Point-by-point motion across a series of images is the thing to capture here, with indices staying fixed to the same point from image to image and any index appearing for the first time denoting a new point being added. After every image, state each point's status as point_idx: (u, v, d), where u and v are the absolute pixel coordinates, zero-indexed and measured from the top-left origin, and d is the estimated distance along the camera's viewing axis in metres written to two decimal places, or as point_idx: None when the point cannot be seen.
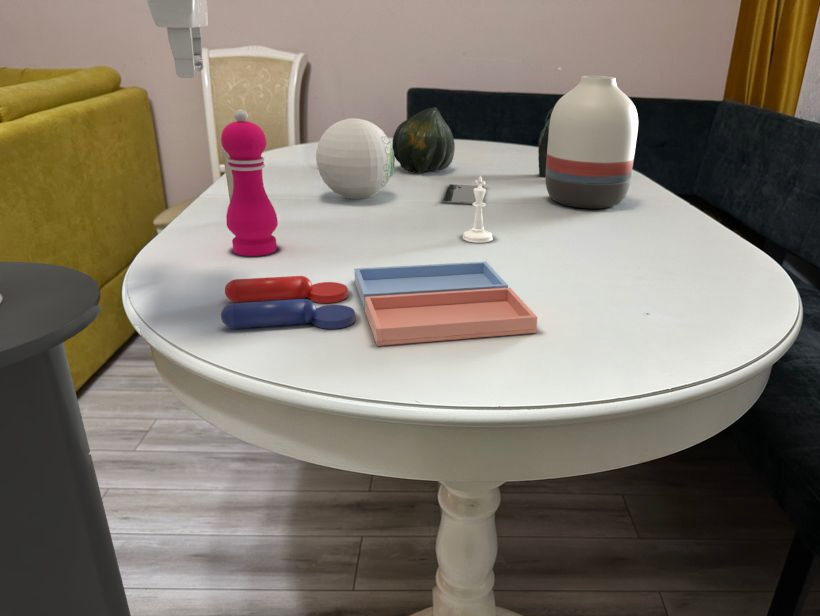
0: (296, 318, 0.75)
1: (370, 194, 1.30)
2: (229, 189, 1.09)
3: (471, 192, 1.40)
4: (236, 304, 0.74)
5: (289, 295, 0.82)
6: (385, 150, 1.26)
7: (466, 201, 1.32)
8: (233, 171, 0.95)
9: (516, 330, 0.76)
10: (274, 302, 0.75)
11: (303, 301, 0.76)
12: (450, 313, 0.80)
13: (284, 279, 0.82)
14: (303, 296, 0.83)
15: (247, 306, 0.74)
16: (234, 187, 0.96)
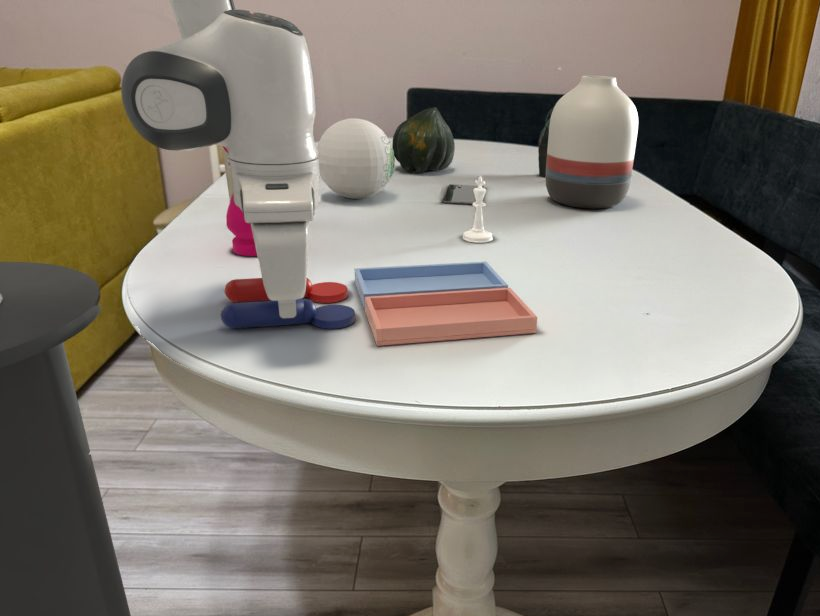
0: (296, 318, 0.75)
1: (370, 194, 1.30)
2: (229, 189, 1.09)
3: (471, 192, 1.40)
4: (236, 304, 0.74)
5: None
6: (385, 150, 1.26)
7: (466, 201, 1.32)
8: None
9: (516, 330, 0.76)
10: (274, 302, 0.75)
11: (303, 301, 0.76)
12: (450, 313, 0.80)
13: None
14: None
15: (247, 306, 0.74)
16: None
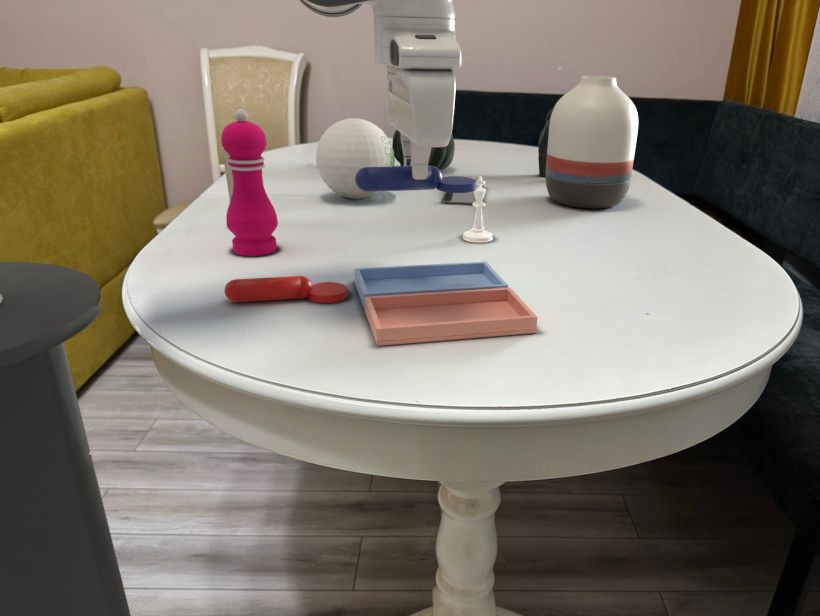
0: (425, 182, 0.80)
1: (370, 194, 1.30)
2: (229, 189, 1.09)
3: (471, 192, 1.40)
4: (370, 167, 0.78)
5: (289, 295, 0.82)
6: (385, 150, 1.26)
7: (466, 201, 1.32)
8: (233, 171, 0.95)
9: (516, 330, 0.76)
10: (404, 167, 0.79)
11: (431, 166, 0.80)
12: (450, 313, 0.80)
13: (284, 279, 0.82)
14: (303, 296, 0.83)
15: (380, 169, 0.78)
16: (234, 187, 0.96)
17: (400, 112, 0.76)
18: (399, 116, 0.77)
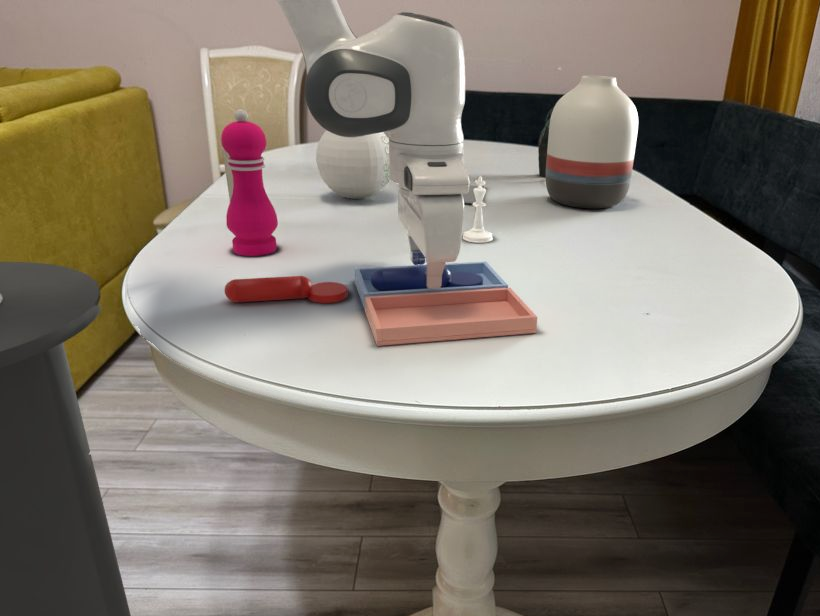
0: None
1: (370, 194, 1.30)
2: (229, 189, 1.09)
3: (471, 192, 1.40)
4: (384, 269, 0.85)
5: (289, 295, 0.82)
6: (385, 150, 1.26)
7: (466, 201, 1.32)
8: (233, 171, 0.95)
9: (516, 330, 0.76)
10: (416, 268, 0.86)
11: None
12: (450, 313, 0.80)
13: (284, 279, 0.82)
14: (303, 296, 0.83)
15: (394, 271, 0.85)
16: (234, 187, 0.96)
17: (412, 221, 0.83)
18: (411, 224, 0.84)
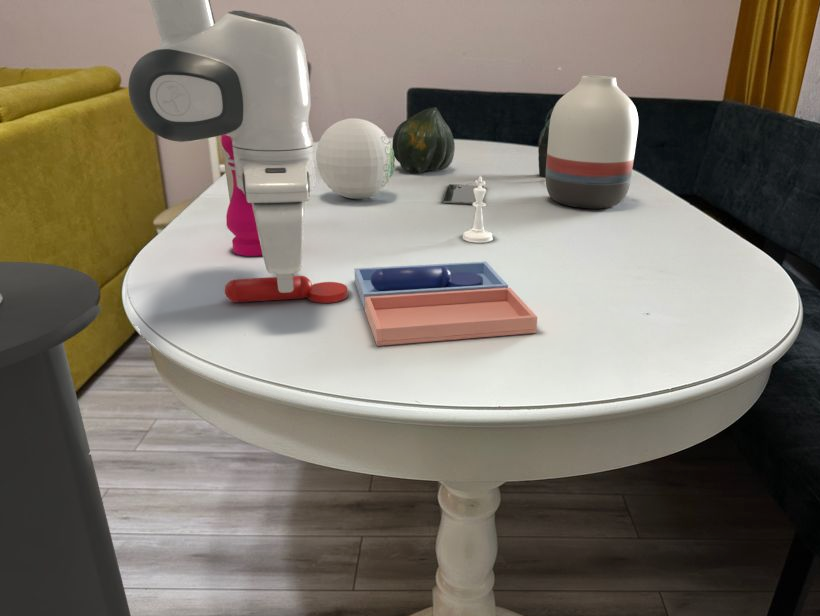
0: (435, 282, 0.86)
1: (370, 194, 1.30)
2: (229, 189, 1.09)
3: (471, 192, 1.40)
4: (384, 269, 0.85)
5: (289, 295, 0.82)
6: (385, 150, 1.26)
7: (466, 201, 1.32)
8: (233, 171, 0.95)
9: (516, 330, 0.76)
10: (416, 268, 0.86)
11: (441, 267, 0.87)
12: (450, 313, 0.80)
13: None
14: (303, 296, 0.83)
15: (394, 271, 0.85)
16: (234, 187, 0.96)
17: None
18: None
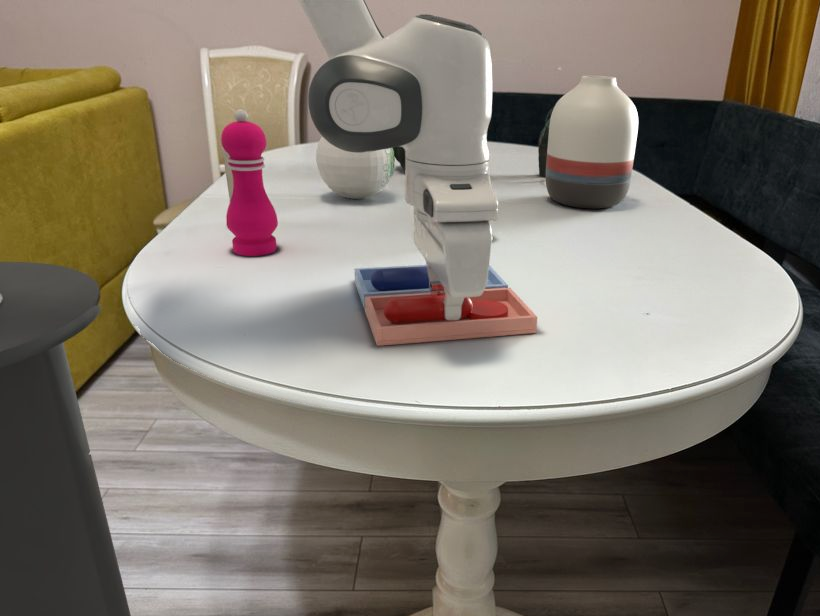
0: None
1: (370, 194, 1.30)
2: (229, 189, 1.09)
3: None
4: (384, 269, 0.85)
5: None
6: (385, 150, 1.26)
7: None
8: (233, 171, 0.95)
9: (516, 330, 0.76)
10: (416, 268, 0.86)
11: None
12: None
13: None
14: (464, 316, 0.78)
15: (394, 271, 0.85)
16: (234, 187, 0.96)
17: (430, 248, 0.74)
18: (429, 251, 0.75)
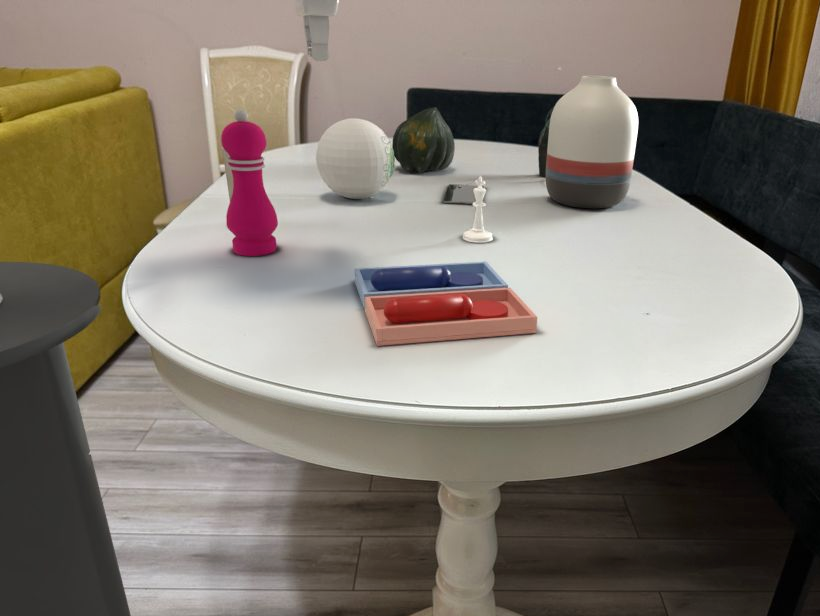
0: (435, 282, 0.86)
1: (370, 194, 1.30)
2: (229, 189, 1.09)
3: (471, 192, 1.40)
4: (384, 269, 0.85)
5: (451, 315, 0.77)
6: (385, 150, 1.26)
7: (466, 201, 1.32)
8: (233, 171, 0.95)
9: (516, 330, 0.76)
10: (416, 268, 0.86)
11: (441, 267, 0.87)
12: None
13: (446, 298, 0.77)
14: (464, 316, 0.78)
15: (394, 271, 0.85)
16: (234, 187, 0.96)
17: None
18: None
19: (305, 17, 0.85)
